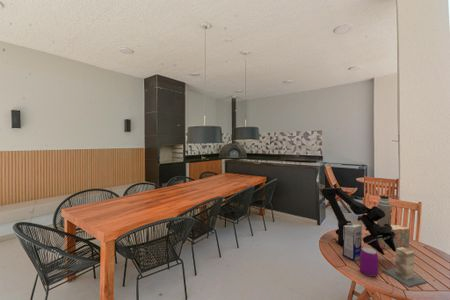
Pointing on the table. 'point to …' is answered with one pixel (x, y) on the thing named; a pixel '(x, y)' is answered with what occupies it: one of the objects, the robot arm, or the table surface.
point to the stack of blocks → (397, 237)
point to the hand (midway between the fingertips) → (389, 253)
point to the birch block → (404, 263)
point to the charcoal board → (408, 282)
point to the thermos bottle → (385, 207)
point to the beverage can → (369, 261)
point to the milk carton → (352, 241)
